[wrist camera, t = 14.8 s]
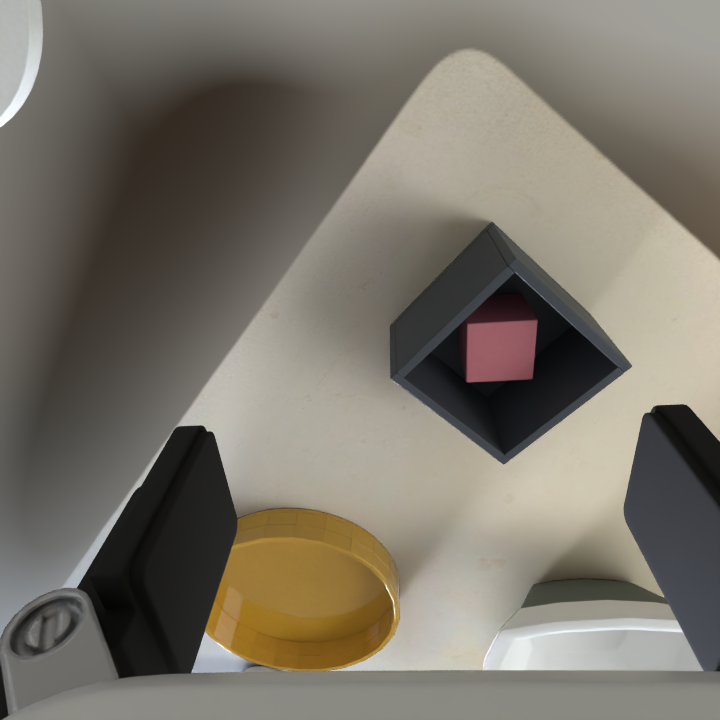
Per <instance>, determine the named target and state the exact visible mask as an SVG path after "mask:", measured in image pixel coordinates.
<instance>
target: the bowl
mask: <svg viewBox="0 0 720 720" xmlns="http://www.w3.org/2000/svg"><path fill="white" fill-rule="evenodd" d="M483 670H663V671H703V669H702V667H701V666H700V664H699V662H698V660H697V658H696V656H695V654H694V652H693V650H692V648H691V646H690V644H689V643H688V641H687V639H686V637H685V635H684V633H683V631H682V629H681V627H680V625H679V623H678V621H677V619H676V618H675V616H674V614H673V612H672V610H671V608H670V606H669V604H668V602H667V600H666V599H665V598H663V597H661V596H659V595H657V594H655V593H652V592H650V591H648V590H646V589H644V588H642V587H639V586H637V585H635V584H631V583H625V582H619V581H613V580H595V579H576V580H560V581H552V582H546V583H540V584H535V585H534V586H533V587H532V588H531V590H530V592H529V594H528V595H527V597H526V599H525V601H524V603H523V605H522V607H521V609H519V610H518V611H517V612H516V613H515V614H514V615H513V616H512V617H511V618H510V619H509V620H508V621H507V622H506V623H505V624H504V625H503V626H502V627H501V628H500V629H499V631H498V633H497V635H496V637H495V639H494V641H493V643H492V645H491V647H490V649H489V651H488V652H487V654H486V656H485V658H484V666H483Z"/></svg>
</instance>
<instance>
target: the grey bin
mask: <svg viewBox="0 0 720 720" xmlns="http://www.w3.org/2000/svg"><path fill="white" fill-rule="evenodd" d="M509 294H523V296H524V298H525V299H526V301H527V303H528V305H529V306H530V308H531V310H532V311H533V313H534V315H535V317H536V318H537V320H538V322H537V334H536V346H535V357H534V369H533V379H528V380H507V381H487V382H466V380H465V375H464V371H463V367H462V363H461V359H460V355H459V325H460V324H461V323H462V322H463V321H464V320H465V319H466V318H467V317H468V316H469V315H470V314H471V313H472V312H474V311H475V310H476V309H477V308H478V307H479V306H480V305H481V304H482V303H483V302H484V301H485V300H486V299H487V298H488V297H489V296H493V295H509ZM631 367H632V365H631V364H630V363H629V361H628V360H627V359H626V358H625V356H624V355H623V354H622V353H621V351H620V350H619V349H618V348H617V346H616V345H615V344H614V343H613V342H612V340H611V339H610V338H609V337H608V335H607V334H606V333H605V332H604V330H603V329H602V328H601V327H600V325H599V324H598V323H597V322H596V321H595V319H594V318H593V317H592V316H591V314H590V313H589V312H588V311H587V310H586V309H584V308H583V307H582V306H581V305H580V304H579V303H578V302H577V301H576V300H575V299H574V298H573V297H572V296H571V295H570V294H568V293H567V292H566V291H565V290H564V289H563V288H562V287H561V286H560V285H559V284H558V283H557V282H556V281H555V280H554V279H553V278H551V277H550V276H549V275H548V274H547V273H546V272H545V271H544V270H543V269H542V268H541V267H540V266H539V265H538V264H537V263H536V262H534V261H533V260H532V259H531V258H530V257H529V256H528V255H527V254H526V253H525V252H524V251H523V250H522V249H521V248H520V247H519V246H517V245H516V244H515V243H514V242H513V241H512V240H511V239H510V238H509V237H508V236H507V235H506V234H505V233H504V232H503V231H502V230H500V229H499V228H498V227H497V226H496V225H495V224H494V223H493V222H491V223H490V224H489V225H488V226H487V227H486V228H485V229H484V230H483V231H482V232H481V233H480V234H479V235H478V236H477V237H476V238H475V239H474V240H473V241H472V242H471V244H470V245H469V246H468V247H467V248H466V249H465V250H464V251H463V252H462V253H461V254H460V255H459V256H458V257H457V258H456V259H455V260H454V261H453V262H452V263H451V264H450V265H449V266H448V267H447V268H446V269H445V270H444V271H443V272H442V273H441V274H440V275H439V276H438V277H437V278H436V279H435V280H434V281H433V282H432V283H431V284H430V285H429V286H428V287H427V288H426V289H425V290H424V292H423V293H422V294H421V295H420V296H419V297H418V298H417V299H416V300H415V301H414V302H413V303H412V304H411V305H410V306H409V307H408V308H407V309H406V310H405V311H404V312H403V313H402V314H401V315H400V316H399V317H398V318H397V319H396V320H395V321H394V322H393V323H392V324H391V325H390V378H391V379H392V380H393V381H394V382H396V383H397V384H398V385H399V386H401V387H402V388H403V389H405V390H406V391H407V392H409V393H410V394H411V395H413V396H414V397H415V398H417V399H418V400H419V401H421V402H422V403H423V404H425V405H426V406H427V407H428V408H430V409H431V410H432V411H434V412H435V413H436V414H438V415H439V416H440V417H442V418H443V419H444V420H446V421H447V422H448V423H450V424H451V425H452V426H454V427H455V428H456V429H457V430H459V431H460V432H461V433H463V434H464V435H465V436H467V437H468V438H469V439H471V440H472V441H473V442H475V443H476V444H477V445H479V446H480V447H481V448H482V449H484V450H485V451H486V452H488V453H489V454H490V455H492V456H493V457H494V458H496V459H497V460H498V461H500V462H501V463H502V464H505V463H507V462H508V461H509V460H510V459H512V458H513V457H515V456H516V455H517V454H518V453H520V452H521V451H522V450H524V449H525V448H526V447H528V446H529V445H530V444H532V443H533V442H534V441H535V440H537V439H538V438H539V437H541V436H542V435H543V434H545V433H546V432H547V431H549V430H550V429H551V428H553V427H554V426H555V425H556V424H558V423H559V422H560V421H562V420H563V419H564V418H566V417H567V416H568V415H570V414H571V413H572V412H574V411H575V410H576V409H577V408H579V407H580V406H581V405H583V404H584V403H585V402H587V401H588V400H589V399H591V398H592V397H593V396H595V395H596V394H597V393H598V392H600V391H601V390H602V389H604V388H605V387H606V386H608V385H609V384H610V383H612V382H613V381H614V380H615V379H617V378H618V377H619V376H621V375H622V374H623V373H624V372H626V371H627V370H628V369H630V368H631Z"/></svg>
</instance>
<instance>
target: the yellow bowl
mask: <svg viewBox="0 0 720 720" xmlns="http://www.w3.org/2000/svg"><path fill="white" fill-rule="evenodd" d="M237 523H238V524H237V533H236V536H235V539H234V542H233V546H232V549H231V552H230V555H229V558H228V561H227V564H226V567H225V570H224V573H223V576H222V579H221V583H220V586H219V589H218V592H217V595H216V598H215V601H214V604H213V607H212V610H211V613H210V616H209V620H208V623H207V626H206V629H205V631H206V633H207V634H208V635H209V637H211V638H212V639H213V640H214V641H216V642H217V643H218V644H220V645H221V646H222V647H224V648H225V649H226V650H228V651H230V652H232V653H233V654H235V655H237V656H239V657H241V658H243V659H245V660H247V661H250V662H253V663H256V664H260V665H263V666H266V667H269V668H273V669H280V670H287V671H330V670H336V669H342V668H346V667H348V666H351V665H354V664H357V663H359V662H362V661H365V660H367V659H368V658H370V657H371V656H373V655H374V654H376V653H377V652H379V651H380V650H382V649H383V648H384V646H385V645H386V644H387V643H388V642H389V641H390V639H391V638H392V637H393V636H394V634H395V631H396V628H397V625H398V622H399V619H400V601H399V578H398V573H397V569H396V566H395V563H394V561H393V559H392V557H391V556H390V554H389V552H388V551H387V550H386V549H385V547H384V546H383V545H382V544H381V543H380V542H379V541H378V540H377V539H376V538H375V537H374V536H373V535H371V534H370V533H368V532H367V531H366V530H364V529H363V528H361V527H359V526H357V525H356V524H354V523H352V522H350V521H347V520H345V519H343V518H340V517H337V516H334V515H331V514H328V513H324V512H319V511H314V510H307V509H297V508H282V509H270V510H265V511H259V512H256V513H252V514H249V515H246V516H244V517H241V518H239V519H237Z"/></svg>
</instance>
